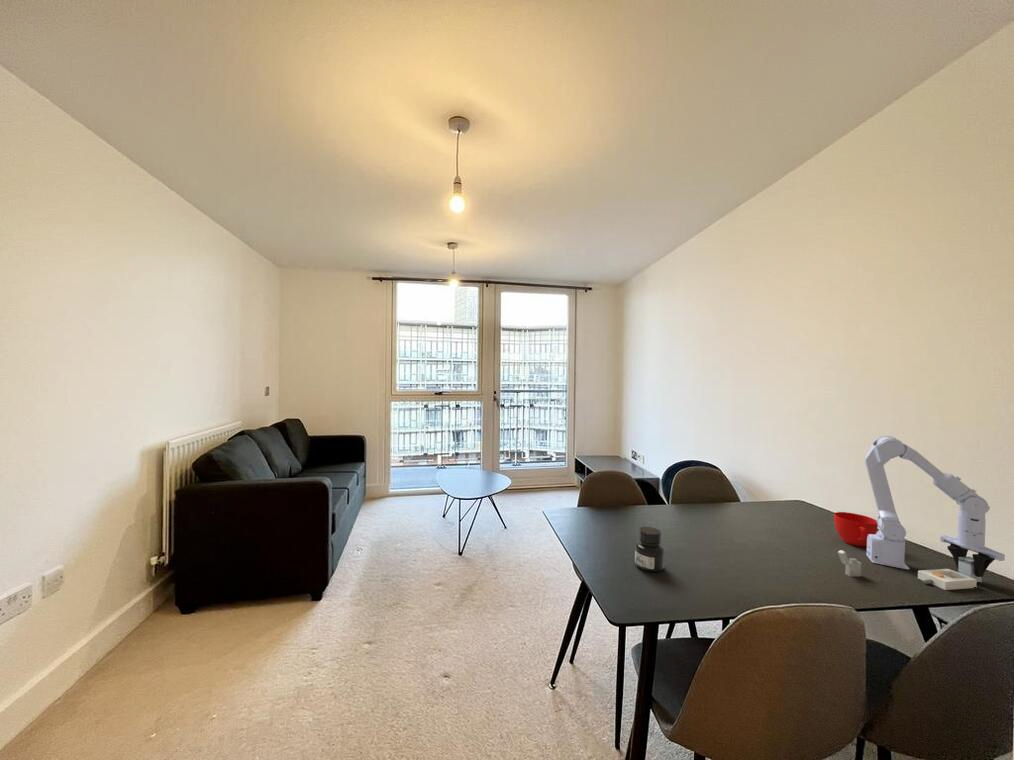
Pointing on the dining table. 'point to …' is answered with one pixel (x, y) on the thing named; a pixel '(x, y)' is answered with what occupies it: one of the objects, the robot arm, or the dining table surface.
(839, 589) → the dining table surface
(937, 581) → the white rectangular frame
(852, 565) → the lighter
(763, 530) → the dining table surface
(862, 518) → the ceramic cup
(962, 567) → the plug
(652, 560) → the ink bottle
